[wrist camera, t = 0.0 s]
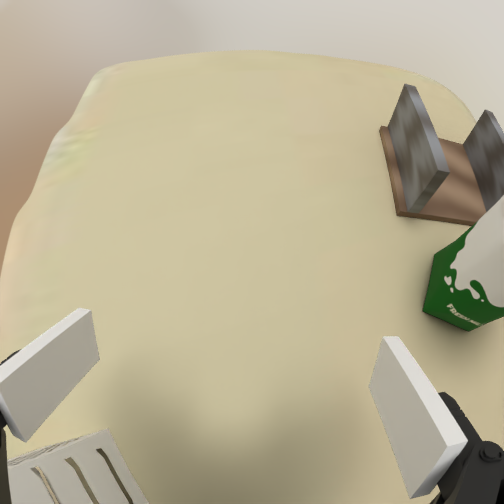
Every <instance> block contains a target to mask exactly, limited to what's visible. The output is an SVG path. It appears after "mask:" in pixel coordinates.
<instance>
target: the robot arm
mask: <svg viewBox="0 0 504 504" xmlns="http://www.w3.org/2000/svg"><path fill="white" fill-rule="evenodd" d="M99 360H100V357H99V352H98V347H97V342H96V337H95V331H94V325H93V319H92V312H91V310H88V309H83V308H78V309H76V310H75V311H73V312H72V313H71V314H69V315H68V316H66V317H65V318H64V319H62V320H61V321H59V322H58V323H57V324H55V325H54V326H53V327H51V328H50V329H48V330H47V331H46V332H44V333H43V334H42V335H40V336H39V337H38V338H36V339H35V340H33V341H32V342H31V343H29V344H28V345H27V346H25V347H24V348H23V349H21V350H18V351H16V352H14V353H13V354H11V355H10V356H9V357H8V358H7V359H5V360H4V361H2V362H1V364H0V504H12V501H11V494H10V487H9V478H8V467H7V451H6V434H5V431H4V429H3V428H4V427H5V426H6V425H8V427H9V429H10V431H11V432H12V434H13V435H14V436H15V437H17V438H19V439H20V440H22V441H24V442H27V441H28V440H29V439H30V438H31V436H32V435H33V434H34V433H35V432H36V430H37V429H38V428H39V427H40V426H41V425H42V423H43V422H44V421H45V420H46V419H47V418H48V417H49V415H50V414H51V413H52V412H53V411H54V410H55V409H56V407H57V406H58V405H59V404H60V403H61V402H62V401H63V400H64V398H65V397H66V396H67V395H68V394H69V393H70V392H71V391H72V389H73V388H74V387H75V386H76V385H77V384H78V383H79V382H80V381H81V379H82V378H83V377H84V376H85V375H86V374H87V373H88V372H89V371H90V370H91V368H92V367H93V366H94V365H95V364H96V363H97V362H98V361H99ZM369 389H370V392H371V394H372V397H373V399H374V402H375V404H376V407H377V409H378V412H379V414H380V417H381V420H382V422H383V425H384V427H385V430H386V433H387V435H388V438H389V441H390V444H391V446H392V449H393V452H394V455H395V457H396V460H397V463H398V466H399V469H400V472H401V474H402V477H403V480H404V483H405V486H406V489H407V492H408V495H409V498H410V499H411V498H416V497H420V496H424V495H427V494H430V492H431V491H432V490H433V489H434V488H435V486H436V485H438V487H439V489H440V492H439V494H438V495H437V496H436V497H435V498H434V499H433V500H432V502H431V503H430V504H504V451H503V450H502V448H501V447H500V446H499V445H498V444H496V443H493V442H490V441H482V440H481V438H480V437H479V435H478V434H477V432H476V431H475V429H474V427H473V426H472V424H471V423H470V421H469V420H468V418H467V417H465V414H464V413H463V411H462V410H460V407H459V405H458V404H457V402H456V401H455V399H453V398H452V397H451V396H449V395H448V394H447V393H445V392H441V393H437V391H436V390H435V388H434V387H433V385H432V384H431V382H430V381H429V379H428V378H427V376H426V375H425V373H424V372H423V371H422V369H421V368H420V366H419V365H418V363H417V362H416V360H415V359H414V358H413V356H412V355H411V353H410V352H409V351H408V349H407V348H406V346H405V345H404V344H403V342H402V341H401V339H400V338H399V337H398V336H383V337H382V341H381V345H380V349H379V353H378V356H377V360H376V364H375V367H374V371H373V374H372V377H371V381H370V384H369Z"/></svg>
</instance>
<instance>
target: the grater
mask: <svg viewBox="0 0 504 504" xmlns="http://www.w3.org/2000/svg"><path fill="white" fill-rule="evenodd" d="M78 438H79V439H78V440H77V438H75V439H76V440H75V441H74V439H71V442H68V443H67V445H65V443H66V442H67V441H64V443H63V442H60V443H61V444H60V443H57V445H56V448H55V449H54V447H55V444H53V445H54V446H53V447H52V448H51V449H53V451H51V449H50V447H51V446H52V445H49V446H45V447H42V448H39V449H36V450H34V451H31V452H28V453H25V454H23V455H20V456H17V457H14V458H11V459H8V460H7V467H8V478H9V487H10V494H11V501H12V504H55V502H54V501H53V499H52V497H51V495H50V493H49V491H48V489H47V487H46V485H45V483H44V481H43V479H42V477H41V475H40V473H39V471H38V470H37V469H36V468H35V467H37V466H38V467H39V468H40V469H41V470H42V472H43V474H44V476H45V478H46V480H47V482H48V484H49V486H50V488H51V490H52V491H53V493H54V495H55V497H56V499H57V501H58V502H59V504H93V502H92V501H91V499H90V497H89V495H88V494H87V492H86V490H85V488H84V487H83V485H82V483H81V481H80V479H79V477H78V475H77V473H76V471H75V469H74V468H73V467H72V466H71V465H70V464H68V463H67V462H66V461H65V460H64V459H67V458H72V459H73V460H74V461H75V463H76V464H77V465H78V466H79V468H80V470H81V472H82V474H83V476H84V478H85V479H86V481H87V483H88V485H89V487H90V489H91V490H92V492H93V494H94V496H95V497H96V499H97V501H98V502H99V504H129V502H128V500H127V499H126V497H125V495H124V494H123V492H122V490H121V489H120V487H119V485H118V483H117V482H116V480H115V478H114V476H113V474H112V473H111V471H110V469H109V467H108V465H107V463H106V461H105V459H104V457H102V456H101V455H100V454H99V453H98V452H97V451H96V449H99V448H101V449H102V450H103V451H104V452H105V454H106V455H107V456H108V458H109V460H110V462H111V464H112V466H113V467H114V469H115V471H116V473H117V475H118V477H119V478H120V480H121V482H122V484H123V485H124V487H125V489H126V491H127V492H128V494H129V496H130V497H131V499H132V501H133V504H149V502H148V501H147V499H146V497H145V496H144V494H143V493H142V491H141V489H140V488H139V486H138V484H137V483H136V481H135V479H134V477H133V476H132V474H131V472H130V470H129V468H128V467H127V465H126V463H125V461H124V459H123V457H122V455H121V453H120V451H119V449H118V447H117V445H116V443H115V441H114V439H113V437H112V435H111V433H110V431H109V428H107V429H104V430H101V431H98V432H95V433H91V434H88V435H85V436H82V437H78ZM68 441H70V440H68ZM62 443H63V444H64V446H62V445H63V444H62ZM59 444H60V445H59ZM58 445H59V447H58ZM47 447H48V450H49V451H50V452H48V450H47V451H46V448H47ZM44 448H45V449H44ZM45 452H46V453H45Z"/></svg>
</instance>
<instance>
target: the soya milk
mask: <svg viewBox="0 0 504 504" xmlns="http://www.w3.org/2000/svg"><path fill="white" fill-rule="evenodd" d="M423 312H425V313H428V314H430V315H432V316H435V317H437V318H439V319H441V320H444V321H446V322H448V323H450V324H453V325H455V326H457V327H460V328H462V329H464V330H466V331H471V330H473V329H475V328H478V327H480V326H482V325H484V324H486V323H488V322H491V321H493V320H496V319H499V318H501V317H504V195H503V196H502V197H501V199H500V200H499V201H498V202H497V203H496V204H495V205H494V206H493V207H492V208H491V209H490V210H489V211H488V212H487V213H485V214H484V215H483V216H482V217H481V218H480V219H479V220H478V221H477V222H476V223H475V224H474V225H473V226H472V227H470V228H469V229H468V230H467V231H466V232H465V233H464V234H463V235H461V236H460V237H459V238H458V239H457V240H456V241H454V242H453V243H451V244H450V245H448V246H447V247H445V248H444V249H442V250H440V251H439V252H437V253H436V254H435V255H434V260H433V266H432V271H431V276H430V281H429V285H428V290H427V294H426V299H425V303H424V307H423Z"/></svg>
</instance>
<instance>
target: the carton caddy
mask: <svg viewBox="0 0 504 504" xmlns="http://www.w3.org/2000/svg"><path fill="white" fill-rule="evenodd" d="M379 131H380V135H381V139H382V143H383V147H384V152H385V156H386V160H387V165H388V170H389V175H390V179H391V185H392V190H393V195H394V201H395V207H396V213H397V216H405V217H414V218H421V219H429V220H437V221H444V222H451V223H458V224H465V225H471V226H473V225H474V224H475V223H476V222H477V221H478V220H479V219H480V218H481V217H482V216H483V215H484V214H485V213H487V212H488V211H489V210H490V209H491V208H492V207H493V206H494V205H495V204H496V203H497V202H498V201H499V200H500V199H501V197H502V196H503V195H504V133H503V131H502V129H501V127H500V125H499V124H498V122H497V120H496V118H495V116H494V115H493V113H492V112H490V111H488V110H484V112H483V114H482V115H481V117H480V119H479V120H478V122H477V123H476V125H475V127H474V128H473V130H472V131H471V133H470V134H469V136H468V137H467V139H466V140H465V142H464V144H459V143H455V142H452V141H448V140H444V139H440V138H438V137H437V135H436V132H435V130H434V127H433V125H432V122H431V120H430V118H429V115H428V113H427V111H426V108H425V106H424V104H423V102H422V100H421V98H420V95H419V93H418V91H417V89H416V87H415V86H412V85H408V84H404V87H403V89H402V92H401V95H400V97H399V100H398V102H397V105H396V108H395V110H394V113H393V115H392V118H391V120H390V122H389V125H388V127H385V126H381V128H380V130H379Z"/></svg>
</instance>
